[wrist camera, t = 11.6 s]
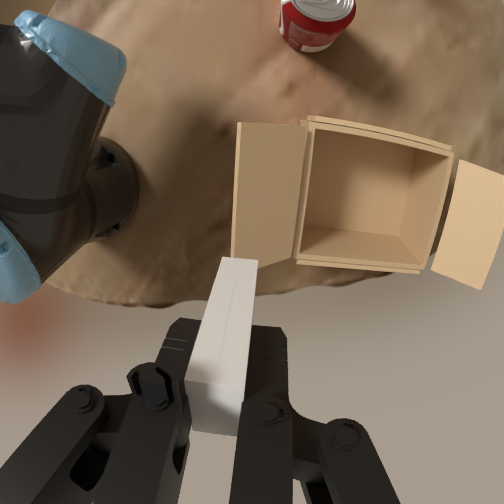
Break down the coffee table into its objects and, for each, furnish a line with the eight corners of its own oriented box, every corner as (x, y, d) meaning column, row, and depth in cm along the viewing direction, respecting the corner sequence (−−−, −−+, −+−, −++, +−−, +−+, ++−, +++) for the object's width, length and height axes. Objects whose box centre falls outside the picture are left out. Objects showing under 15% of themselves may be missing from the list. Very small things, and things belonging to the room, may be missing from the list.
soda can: (336, 55, 29) (364, 31, 18) (280, 53, 29) (284, 25, 18) (332, 8, 26) (356, -30, 15) (277, 6, 26) (278, -36, 15)
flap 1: (241, 122, 20) (237, 122, 21) (233, 276, 26) (230, 273, 27) (306, 126, 24) (302, 125, 25) (290, 257, 30) (287, 255, 30)
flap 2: (480, 290, 26) (480, 288, 26) (516, 181, 20) (515, 180, 20) (430, 270, 30) (430, 268, 30) (459, 159, 24) (459, 159, 24)
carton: (288, 231, 39) (291, 264, 31) (300, 114, 33) (309, 115, 24) (397, 243, 39) (422, 275, 31) (419, 137, 32) (455, 147, 24)
